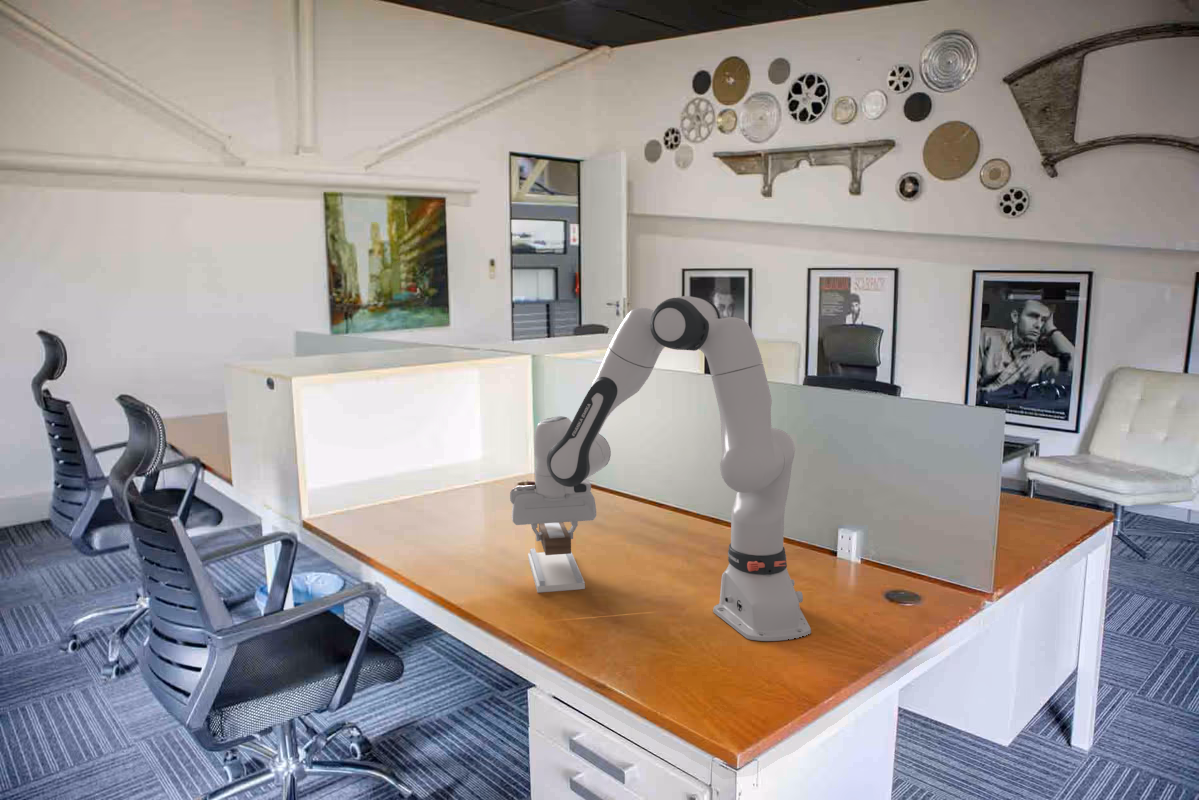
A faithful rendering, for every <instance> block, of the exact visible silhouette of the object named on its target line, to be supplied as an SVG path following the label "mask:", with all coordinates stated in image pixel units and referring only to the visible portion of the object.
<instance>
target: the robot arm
mask: <svg viewBox="0 0 1199 800" xmlns="http://www.w3.org/2000/svg"><path fill="white" fill-rule="evenodd" d="M665 348H667V349H672V350H677V351H678V350H680V351H681V350H682V351H693V352H694V351H698V350H699V351H701V353H703V354H704V356H705V358H706V360H707V365H708V368H709V372H710V373H709V374H710V376H711V382H712V384H713V385H712V386H713V389H714V393H715V394H714V395H715V398H716V401H717V406H718V411H719V418H720V433H721V434H720V435H721V437H720V438H721V452H722V454H721V459H720V462H719V463H720V464H719V472H720V475H721V478H722V480H723V482H724V483H725V485H726V486H728V488H730V489H732V490H733V491H735V492H736V495H735V499H734V501H733V502H734V503H733V505H732V508H731V511H730V512H731V515H730V516H731V517H730V518H731V519H730V526H731V527H730V543H729V544H728V550H727V555H728V556H727V557H728V558H727V560H728V566H727V568H726V569H725V570H724V572H722V575H721V581H720V582H721V583H720V592H719V594H720V595H719V603H718V604H716V605H714V606H713V610H712V612H713V613H714V614H715V615H716V616H717V617H719V618H720V619H722V620H723V621H724V622H725V623H727V624H728V625H729V626H730V627H731V628H733V629H734V630H735V631H737V632H738V633H739V634H740V635H742V636H743V637H744V638H745V639H747V640H751V641H759V642H760V641H761V642H778V641H789V640H794V638H796V639H800V638H799V637H801V638H803V637H802V636H804V637H806V635H807V636H808V634H809V635H810V634H812V629H811V627H810V623H808V621H807V619H806V617H805V615H804V613H803V611H802V610H801V608H800V603H803V600H804V596H803V592H802V591H801V590H800V591H799V590H798V591H797V590H795V588H794V586H795V579H792V578H791V576H790V574H789V571H788V562H787V554H786V549H785V546H784V529H785V513H786V512H785V511H786V505H787V504H786V503H787V499H788V494H789V489H790V488H789V487H790V482H791V476H792V475H791V474H792V467H793V462H794V458H795V451H796V447H795V444H794V441H793V439H792V438H791V436H790V435H789V434H788V433H787V432H785V431H784V430H782V429H780V428H776V427H772V414H771V413H772V412H771V410H772V409H771V408H772V401H773V400H772V395H771V391H770V387H769V382H768V379H767V373H766V371H765V367H764V364H763V363H764V362H763V359H762V355H761V352H760V348H759V346H758V343H757V341H756V338H755V336H754V334H753V331H752V329H751V327H750V325H749V323H747V321H746V320H744V319H742V318H739V317H736V316H730V317H723V318H722V317H721V312H720V310H719V309H718V307H717V306H716V304H714V302H713V301H711V300H710V299H707V298H705V297H702V296H701V297H700V296H690V295H683V296H677V297H671V298H667V299H665V300H664V301H662V302H660V303H659V304H658V305H657V306H656V307H655V308H654V310H653V309H651V308H647V307H636V308H633V309H631V310H630V311H629V312H628V313H627V314H626V315H625V317H624V318H623V320H622V321H621V323H620V324H619V325H618V328H617V330H616V331H615V333H614V335H613V337H612V338H611V341H610V343H609V345H608V347H607V349H606V351H605V354H604V356H603V359H602V361H601V363H600V366H599V367H598V370H597V372H596V374H595V376H594V378H593V381H592V382H591V385H590V387H589V389H588V391H587V393H586V395H585V397H583V398H584V399H583V400H582V402H581V404H580V406H579V407H578V409H577V411H576V414H575V415H574V417H573V419H572V421H571V419H570V418H569V417H566V416H560V415H559V416H552V417H549V418H545V419H542V420H540V421H539V422H538V423H537V425H536V427H535V431H534V432H535V433H534V447H533V448H534V458H535V460H536V463H535V464H536V465H535V468H534V484H529V485H516V486H515V487H514V488H512V489H511V490H510V493H509V499H510V503H511V504H512V506H511V507H512V509H511V520H512V523H513V524H514V525H516V526H522V525H523V526H526V525H530V527H531V530H532V531H533V533H534V534H535V541H536V542H541V541H542V540H543V539H542V532H539V530H538V529H539V524H543V523H559V522H564V523H570V525H571V527H570V528H569V529H567V531H568V534H569V536H570V538H571V540H573V539H574V532H575V531H576V529H577V527H578V526H579V525H578V524H579V523H578V522H589V521H594V520H595V519H596V517H597V503H596V500H595V499H596V498H595V496H594V495H593V493H592V484H591V482H590V481H589V479H588V478H589V477H591V476H594V474H597V473H598V472H599V471H601V470H602V469H604V468H605V467H606V466H607V465H608V464H609V462H610V461H611V460H610V459H611V455H612V454H611V447H610V444H609V442H608V440H607V439H606V438H605V437H604V436H603V435H602V434H600V431H601V430H602V428H603V426H604V425H605V422H606V421H607V419H608V417H609V416H610V415H611V413H613V411H614V410H615V409H617V407H618V406H620V405H621V404H623V403H624V402H626V401H627V400H628V399H629V398H631V397H633V396H634V395H635V394H637V393H638V392H639V391H640V390H641V389H642V388H643V386H644V384H646V381H647V380H648V379H649V377H650V376H651V374H652V372H653V369H654V367H655V365H656V364H657V363H656V362H657V361H658V359H659V356H660V354H661V353H662V351H663V350H664V349H665ZM788 639H789V640H788Z"/></svg>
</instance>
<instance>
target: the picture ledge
mask: <svg viewBox="0 0 1199 800" xmlns="http://www.w3.org/2000/svg"><path fill="white" fill-rule="evenodd" d="M527 559H528V563H529V567H530V570H531V574H532V579H533V582H534V584H535V589H536V593H537V594H538V593H539V594H540V593H550V592H562V591H563V592H564V591H574V590H575V591H577V590H585V589H586V582H585V580H584V577H583V575H582V573H581V570H580V568H579V567H578V563H577V562H576V559H575V556H574V553H572V551H571V554H557V555H545V552H544V551H543V552H537V551H536V548H535V547H533V548H530V549H529V552H528V553H527Z"/></svg>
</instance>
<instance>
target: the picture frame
mask: <svg viewBox="0 0 1199 800" xmlns="http://www.w3.org/2000/svg"><path fill="white" fill-rule="evenodd" d="M567 530H568V529H567V527H566V525H565V522H559V523H543V524H538V532H542V539H543V540H542V541H540V543H541V546H542V548H543V552H545V555H557V554H571V552H572V539H571V538H570V536H569V534H568V531H567Z"/></svg>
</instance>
